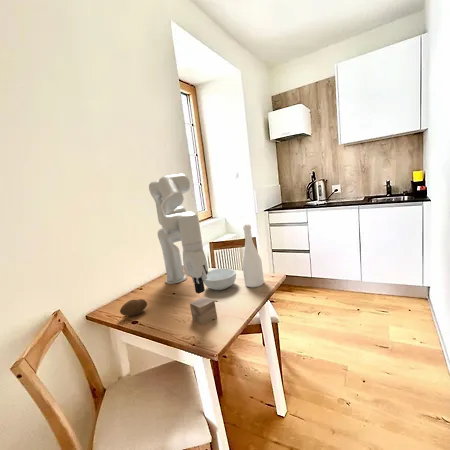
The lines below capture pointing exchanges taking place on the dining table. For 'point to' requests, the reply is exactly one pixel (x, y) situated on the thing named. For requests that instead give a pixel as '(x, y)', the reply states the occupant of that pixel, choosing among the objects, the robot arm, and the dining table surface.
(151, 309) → the dining table surface
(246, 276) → the wine bottle
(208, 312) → the cube
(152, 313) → the dining table surface
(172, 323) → the dining table surface
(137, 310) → the potato
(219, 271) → the cereal bowl
